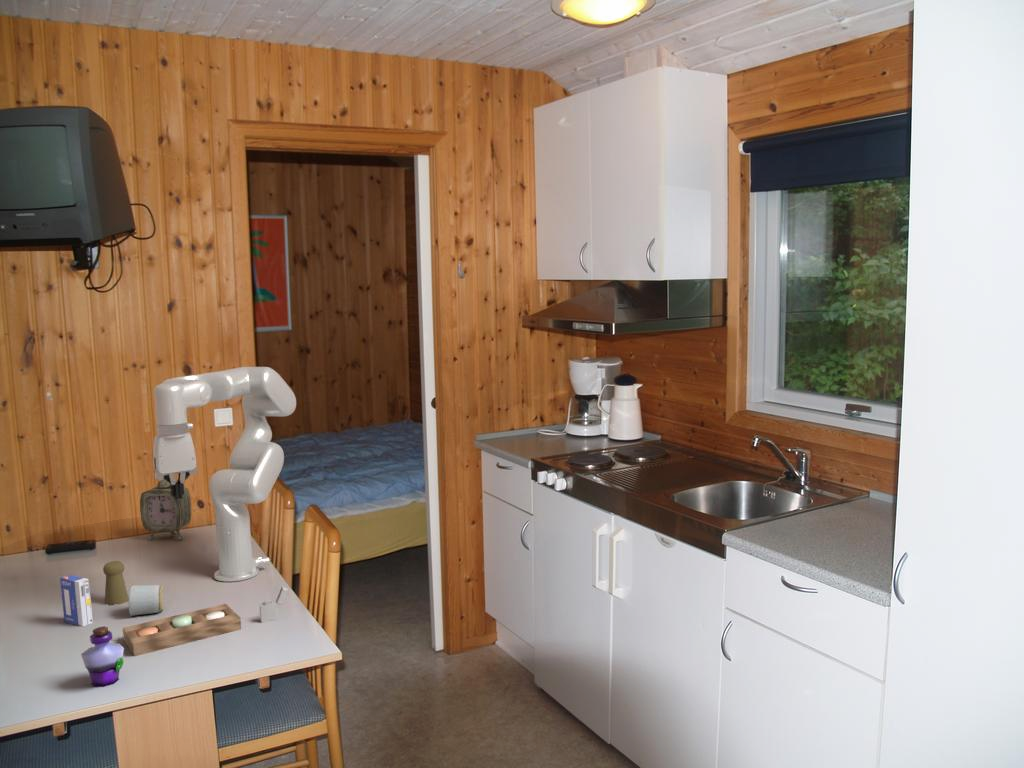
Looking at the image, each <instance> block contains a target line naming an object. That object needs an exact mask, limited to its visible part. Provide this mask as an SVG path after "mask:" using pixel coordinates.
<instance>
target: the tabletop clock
mask: <svg viewBox="0 0 1024 768" xmlns="http://www.w3.org/2000/svg"><path fill="white" fill-rule="evenodd" d="M154 474H155V471H154ZM164 475H165V474H164ZM182 496H183V498H182V499H180V498H179V499H175V498H174V496H172V495H171V485H170V483H169V482H168V481H166V480H162V479H160V480H159V481H158V482H157V485H156V486H155V487H153V488H151V489H148V490H145V491H144V492H141V495H140V500H139V506H140V508H139V512H140V518H141V522H142V526H143V528H144V529H145V530H147V531H150V532H152V533H151V534H150V535H149V536H148V540H149V541H152V540H153V539H154V535H155V533H156V532H157V533H169V535H170V536H171V537H175V536H176V533H177V540H178V541H182V540H183V536H182V535H181V533H180V529H182V528H184V527H186V526H187V525H190V523H191V521H192V500H191V494H190V492H189V489H188V488H187V487H185V486H184V494H183V495H182Z"/></svg>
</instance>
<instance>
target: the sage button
mask: <svg viewBox="0 0 1024 768" xmlns="http://www.w3.org/2000/svg"><path fill="white" fill-rule="evenodd" d="M172 623H173V628H178V627H182V626H187V625H191V624H192V620H191V616H188V615H183V616H178V617H175V618H174V619H173V620H172Z"/></svg>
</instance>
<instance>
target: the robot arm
mask: <svg viewBox="0 0 1024 768" xmlns="http://www.w3.org/2000/svg"><path fill="white" fill-rule="evenodd" d="M153 396H154V405H155V407H154V408H155V419H156V431H157V433H156V434H157V435H155V436H154V438H153V449H152V450H153V451H152V455H153V456H152V457H153V458H152V459H153V460H152V461H153V469H154V472H155V473H154V478H155V479H156V480H166V481H168V482H169V483H170V485H171V495H172V496H174V498H175V499H179V498H180V499H182V498H183V496H182V495H183V494H184V487H185V485H184V484H185V482H186V480H187V479H188V478H189V477H190V476H193V475H195V474H197V473H198V469H197V458H196V452H195V450H196V449H195V445H194V442H193V438H192V437H193V436H192V434H191V433H190V432H189V431H190V430H191V429H194V424H193V423H189V422H188V415H187V409H188V408H201V407H203V406H206V405H207V404H208V403H209V402H224V401H227V400H232V399H235V398H240V397H242V400H241V401H242V402H241V404H242V405H241V406H242V411H243V416H244V430H243V431H242V433H241V436H240V437H239V439H238V441H237V443H236V444H235V446H234V448H233V450H232V452H231V454H230V456H229V466H230V468H229V469H228V468H227V469H221V470H218V471H216V472H214V474H212V476H211V478H210V479H209V483H208V484H209V486H208V487H209V495H210V498H211V501H212V504H213V509H214V510H213V511H214V518H215V531H216V543H217V544H216V545H217V558H218V570H217V569H216V571H214V573H213V578H214V579H215V580H217V581H219V582H239V581H245V580H248V579H252V578H253V577H255V576H257V575H258V574H259V573H260V570H259V569H260V568H259V566H260V565H266V564H267V565H268V564H270V558H269V556H265V557H262V556H259V557H254V556H253V549H252V548H253V547H252V534H251V519H250V512H249V510H248V507H247V505H246V504H260V503H262V502H264V501H265V500H266V499H267V498H268V497H269V495H270V493H271V491H272V489H273V487H274V485H275V483H276V481H277V479H278V477H279V476H280V473H281V471H282V469H283V466H284V464H285V463H284V461H285V454H284V450H283V448H282V446H281V445H280V444H278V443H276V442H272V438H273V432H272V429H271V426H270V424H269V423H268V421H267V418H266V417H288V416H291V415H292V414H293V413H294V412H295V410H296V408H297V398H296V395H295V393H294V391H293V390H292V388H291V387H290V386H289V384H287V382H286V381H285V380H284V379H283V378H282V376H281V374H280V373H278V372H277V371H276V370H274V369H273V368H272V367H269V366H240V367H236V368H235V367H234V368H230V369H225V370H219V371H212V372H205V373H199V374H192V375H185V376H178V377H173V378H167V379H166V380H164V381H162V382H161V383H160V384H157V385H156V386H155V387H154V389H153ZM164 474H165V475H164ZM175 474H177V481H176V478H175Z"/></svg>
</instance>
